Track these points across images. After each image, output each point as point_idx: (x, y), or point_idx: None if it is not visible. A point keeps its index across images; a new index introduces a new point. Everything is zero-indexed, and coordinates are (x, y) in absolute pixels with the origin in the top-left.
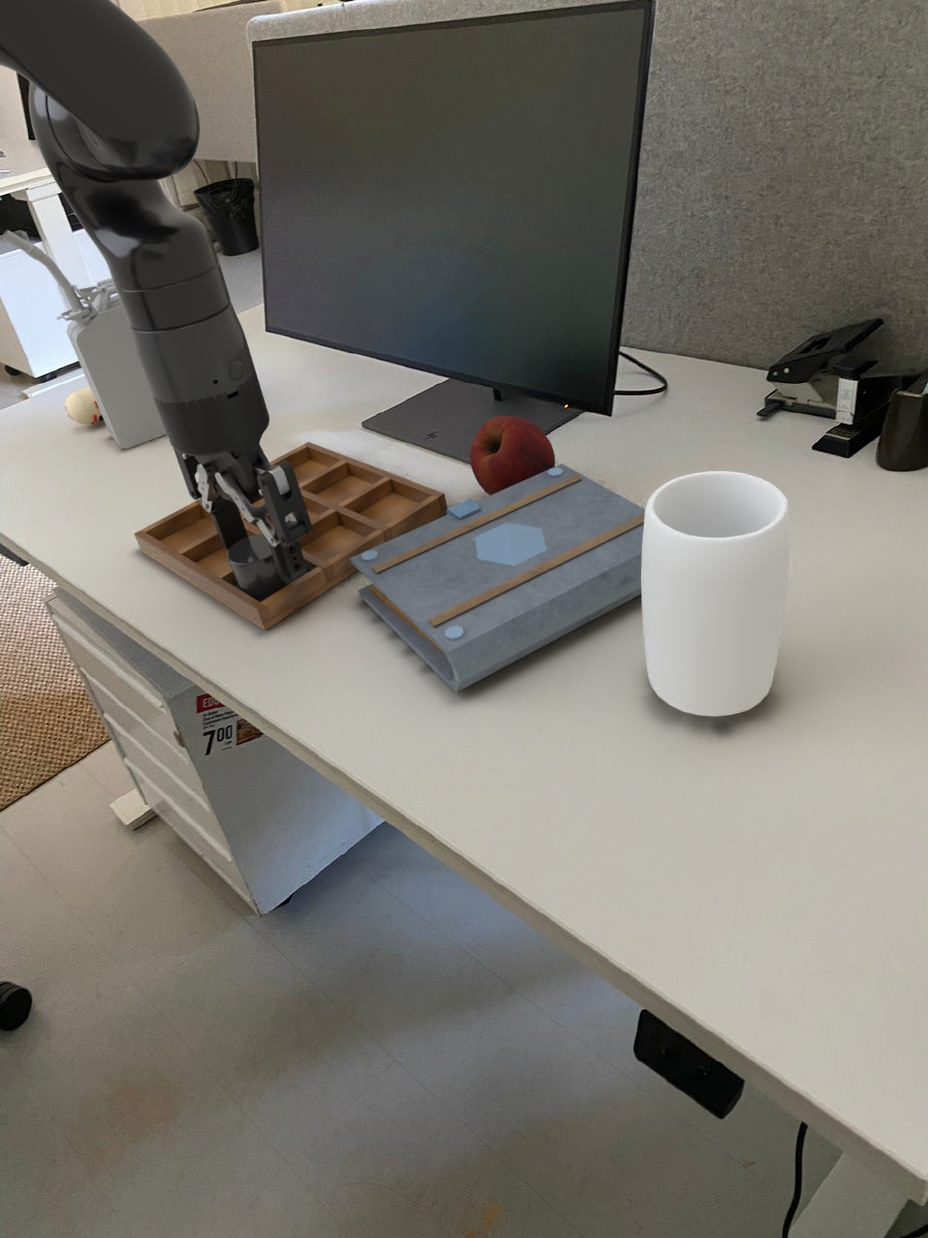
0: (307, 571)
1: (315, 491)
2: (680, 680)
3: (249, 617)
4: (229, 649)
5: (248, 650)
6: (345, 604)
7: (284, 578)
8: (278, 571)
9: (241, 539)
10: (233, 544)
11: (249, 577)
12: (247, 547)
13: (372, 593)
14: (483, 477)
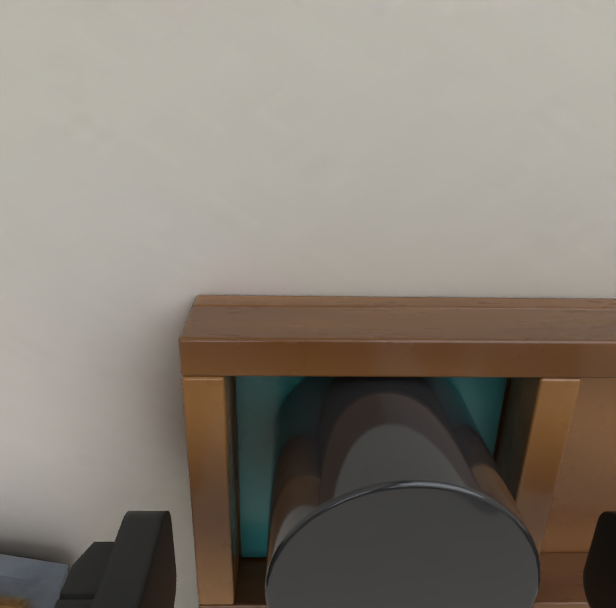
0: None
1: None
2: None
3: (293, 303)
4: (215, 142)
5: (143, 186)
6: (98, 517)
7: (121, 529)
8: (146, 550)
9: (598, 582)
10: (607, 546)
11: (317, 450)
12: (441, 584)
13: (7, 596)
14: None
